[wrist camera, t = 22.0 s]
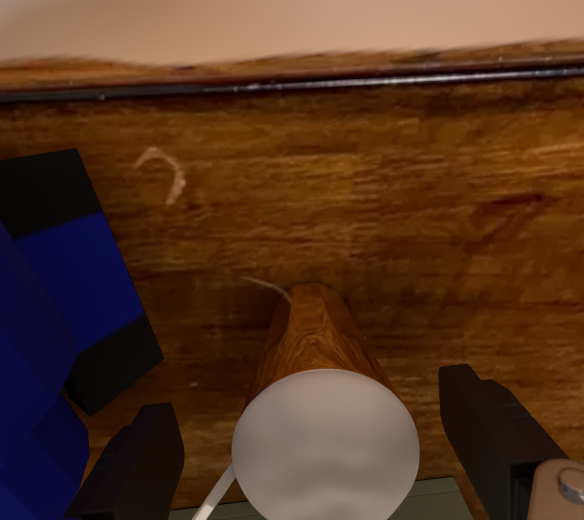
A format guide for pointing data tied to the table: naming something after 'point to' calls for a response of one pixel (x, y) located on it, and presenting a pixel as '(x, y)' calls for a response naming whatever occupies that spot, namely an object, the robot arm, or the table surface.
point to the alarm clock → (59, 329)
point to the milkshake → (320, 421)
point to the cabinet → (408, 516)
